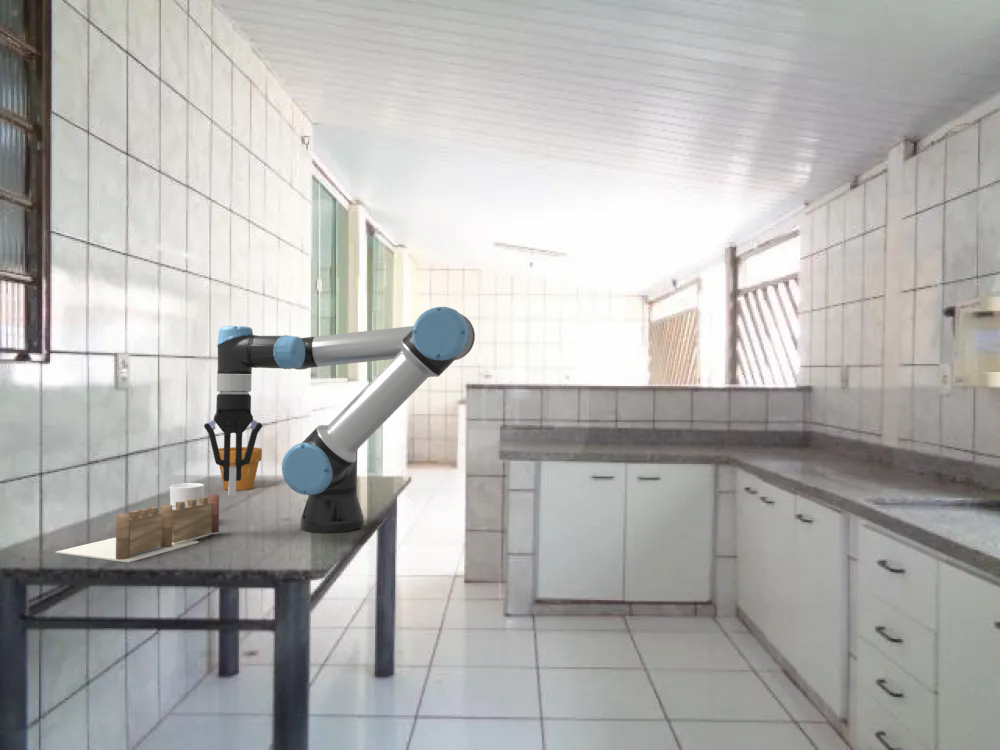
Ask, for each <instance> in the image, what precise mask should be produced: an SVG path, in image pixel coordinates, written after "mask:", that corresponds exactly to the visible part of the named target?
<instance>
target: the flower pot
mask: <svg viewBox="0 0 1000 750" xmlns="http://www.w3.org/2000/svg"><path fill="white" fill-rule="evenodd" d="M218 449H219V453H220V458H221V460H224V447H221V448H218ZM246 449H247V446H242V459H244V456H245V453H246ZM235 453H236V446H230V466H235ZM262 455H263V449H262V448H261V447H255V446H254V448H253V452H252V456H251V459H250V463H249V464H246V465H243V466H242V468H241V480H240V481H236V491H247V490H251V489H253V488H254V486H255V485H254V484H255V480H256V477H257V472H258V467H259V462H261V461H262V458H263V457H262ZM219 469H220V474H221V480H222V483H223V489H224V490H226V491H228V481H224V479H223V469H224V468H223V466H221V465H219Z"/></svg>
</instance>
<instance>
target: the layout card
mask: <svg viewBox="0 0 1000 750" xmlns="http://www.w3.org/2000/svg"><path fill="white" fill-rule="evenodd" d="M199 543H200V541H199V540H191V539H188V540H184V541H180V542H176V543H172V546H171V547H158V548H154V549H150V550H147V551H143V552H139V553H135V554H132V555H129V558H128V559H122V560H118V559H116V536H115V537H111V538H107V539H103V540H99V541H95V542H90V543H85V544H82V545H78V546H73V547H69V548H66V549H65V548H64V549H62V550H61V549H60V550H57V551H56V550H55V552H54V553H55V554H60V555H67V556H75V557H84V558H90V559H96V560H97V559H98V560H105V561H106V560H107V561H112V562H113V561H115V562H121V563H132V562H136V561H138V560H139V561H140V560H142V559H147V558H149V557H153V556H156V555H160V554H163V553H167V552H172V551H174V550H178V549H182V548H185V547H188V546H193V545H196V544H199Z"/></svg>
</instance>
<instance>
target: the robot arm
mask: <svg viewBox="0 0 1000 750" xmlns="http://www.w3.org/2000/svg"><path fill="white" fill-rule="evenodd" d="M217 335H218V336H217V337H218V339H217V344H216V347H217V371H216V372H217V374H216V391H217V392H219V393H218V394H216V403H215V404H216V412H215V414H214V416H213V419H211V420H210V421H208V422H205V423H204V424H203V426H204V429H205V431H207V433H208V437H209V441H210V442H209V443H210V445H211V449H212V454H213V458H214V461H215V462H214V463H215V464H216V465H217V466H218V465H221V466H223V468H224V469H223V479H224V481H228V490H227V496H228V497H236V495H237V490H236V481H240V480H241V468H242V466H243V465H246V464H249V463H250V459H251V456H252V452H253V448H254V447H255V444H256V442H257V437H258V434H259V432H260V431H261V429H262V428H263V424H262V422H258V421H257V420H255V419H254V417H253V416H254V415H252V395H251V394H250V392H251V391H252V374H253V373H252V371H253V368H254V369H255V368H256V369H257V368H259V369H260V368H262V369H283V370H292V369H293V370H294V369H295V370H307V369H310V368H317V367H328V366H337V365H338V366H339V365H347V364H348V365H349V364H357V363H369V362H376V361H377V362H378V361H379V362H380V361H387V360H390V362H388V363H387V365H386V366H385V367H383V369H381V371H379V372H378V374H377V375H376V376H375V377H373V378H372V380H371V381H370V382H369V383H368V384H367V385H365V387H364V388H363V389H362V390H361V391H360V392H359V393H358V395H356V396H355V397H354V398H353V399H352V400H351V401H350V402H349V404H348V405H347V406H346V407H345V408H344V409H343V410H341V411H340V412H339V414H338V415H336V417H335V418H334V419H333V420H332V421H331V422H330V423H329V424H326V425H325V424H321V425H320V424H319V425H317V426H316V427H315V428H314V430H313V431H312V432H311V433H310V434H309V435H308V436H307V437H305V439H303V441H302V442H300V443H297V444H295V445H294V446H292V447H290V449H289V450H288V451H287V452H285V455H284V457H283V459H282V462H281V473H282V477H283V479H284V482H285V483H286V484H287V486H288V487H289V488H290V489H291V490H292V491H294V492H295V493H297V494H300V495H303V496H308V497H307V499H306V502H305V505H304V509H303V513H302V515H301V518H300V528H301V530H304V531H307V532H311V533H342V532H344V533H345V532H350V531H355V529H356V530H359V529H361V528H363V527H364V517H365V516H364V514H363V511H362V507H361V504H360V501H359V498H358V494H357V493H358V450H359V448H360V447H362V445H364V443H365V442H367V440H368V439H370V437H371V436H372V435H374V434H375V432H376V431H377V430H379V428H380V427H382V425H383V424H385V422H386V421H387V420H388V419H389V418H390V417H391V416H392V415H393V414H394V413H395V412H396V411H397V410H398V409H399V408H400V407H401V405H403V404H404V403H405V402H406V401H407V400H408V399H409V398H410V397H411V396H412V394H413V393H415V392H416V390H418V389H419V387H421V385H423V383H425V381H427V379H428V378H431V377H435V378H436V377H437V378H438V377H440V376H441V375H442V374H443V373H444V372H445V371H446V370H447V369H448V368H449V367H450V366H451V365H452V364H453V363H454V362H455V361H458V360H460V359H462V358H464V357H466V356H467V354H469V353H470V351H471V350H472V349H473V346H474V343H475V339H476V332H475V328H474V326H473V324H472V323H471V321H470V320H469V318H467V317H466V316H465V315H463V314H461V313H460V312H459V311H457V310H456V309H455V308H451V307H448V306H437V307H436V306H435V307H432V308H429V309H428V310H426V311H424V312H423V313H422V314H420V315H419V316H418V317H417V319H416V321H415V322H414V325H409V326H402V327H389V328H383V329H375V330H363V331H356V332H355V331H353V332H345V333H335V334H328V335H320V336H319V335H318V336H317V335H316V336H307V337H300V336H297V335H295V336H294V335H285V334H284V335H255V334H254V333H253V329H252V327H250V326H238V325H236V326H235V325H223V326H221V327H220V328H219V330H218V334H217ZM250 424H251V425H250ZM216 425H217V426H218V427H219V429H220V430H221V432H222V433H223V448H224V460H221V458H220V453H219V449H220V448H219V445H218V441H217V437H216V434H215V431H214V430H215V429H216ZM249 426H250V429H251V430H250V431H251V432H250V436H249V438H248V443H247V446H246V447H247V449H246V453H245V456H244V459H242V447H243V432H245V431H246V430H247V428H248V427H249ZM232 434H235V447H236V453H235V466H230V447H231V435H232ZM360 527H361V528H360ZM358 528H359V529H358Z"/></svg>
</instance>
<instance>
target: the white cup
mask: <svg viewBox="0 0 1000 750" xmlns="http://www.w3.org/2000/svg"><path fill="white" fill-rule="evenodd" d="M204 495H205V484H204V483H201V482H200V483H199V482H198V483H197V482H189V483H187V482H183V483H176V484H175V483H174V484H171V485H169V505H172V510H174V509H176V502H180V501H182V502H185V507H188V500H190V499H197V505H198V504H199V498H200V497H205V496H204Z"/></svg>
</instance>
